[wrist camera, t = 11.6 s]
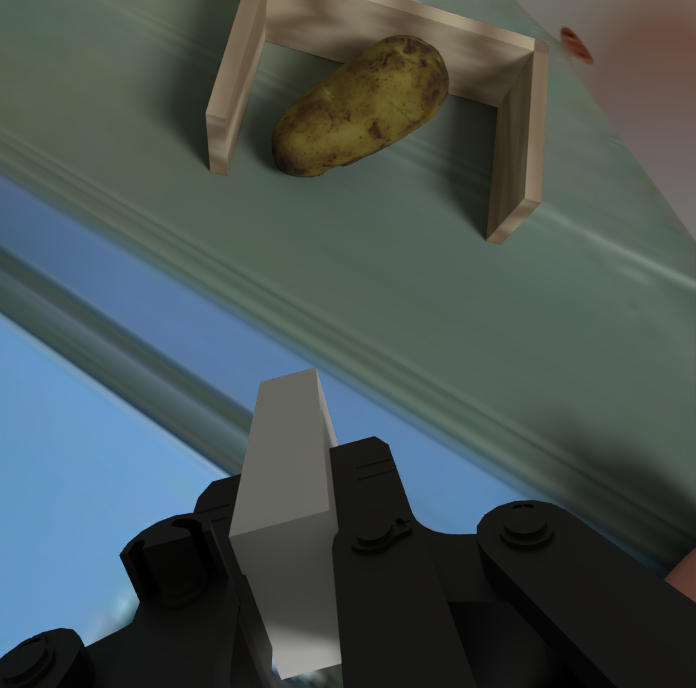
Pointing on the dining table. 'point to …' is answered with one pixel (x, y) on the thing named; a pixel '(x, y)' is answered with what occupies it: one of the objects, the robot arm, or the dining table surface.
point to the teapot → (684, 576)
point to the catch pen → (435, 29)
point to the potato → (362, 107)
